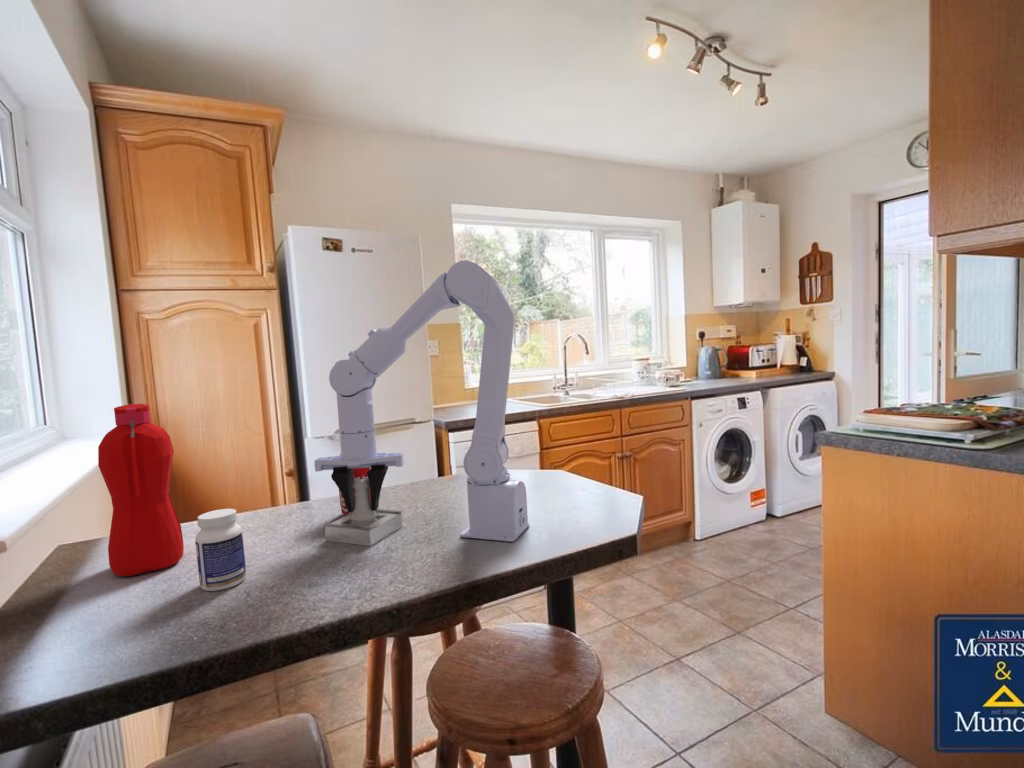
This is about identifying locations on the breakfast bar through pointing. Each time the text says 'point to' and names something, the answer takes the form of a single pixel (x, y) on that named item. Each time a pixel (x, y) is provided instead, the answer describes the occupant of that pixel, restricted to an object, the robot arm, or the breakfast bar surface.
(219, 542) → the pill bottle
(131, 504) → the red ketchup bottle
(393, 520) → the block
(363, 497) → the rook chess piece
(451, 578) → the breakfast bar surface
